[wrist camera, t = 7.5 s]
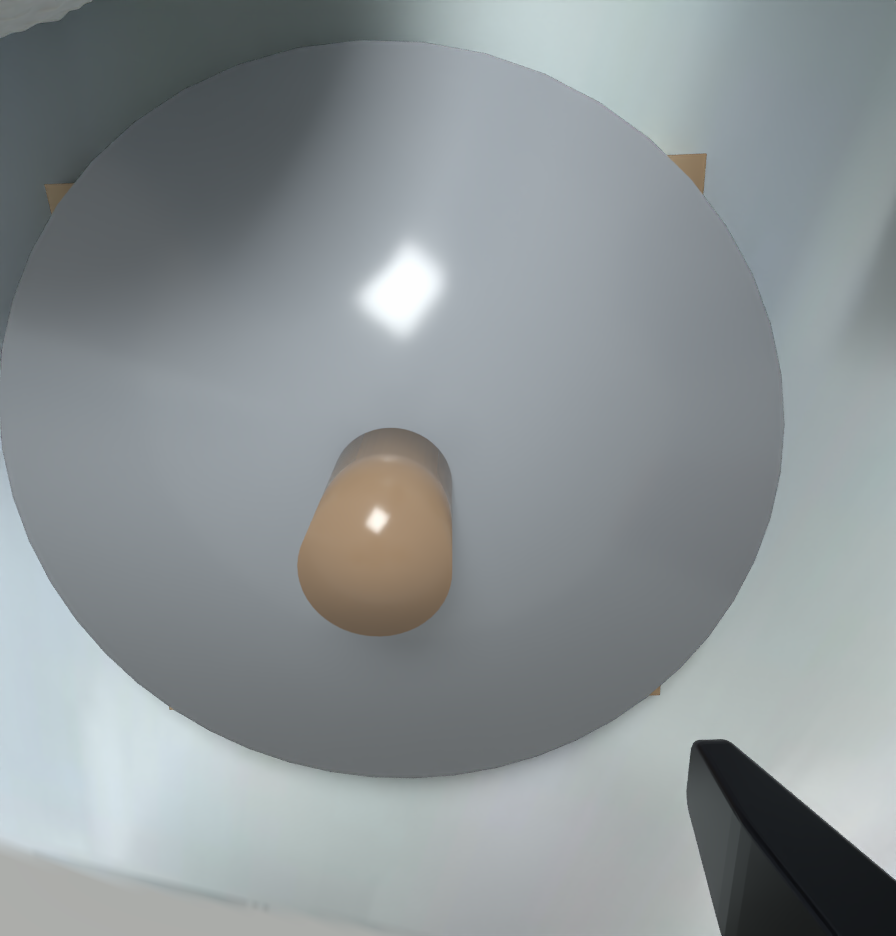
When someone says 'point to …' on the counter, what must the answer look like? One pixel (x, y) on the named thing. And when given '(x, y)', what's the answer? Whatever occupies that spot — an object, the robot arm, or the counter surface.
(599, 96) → the counter surface
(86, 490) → the lid
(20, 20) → the cereal bowl
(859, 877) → the robot arm
